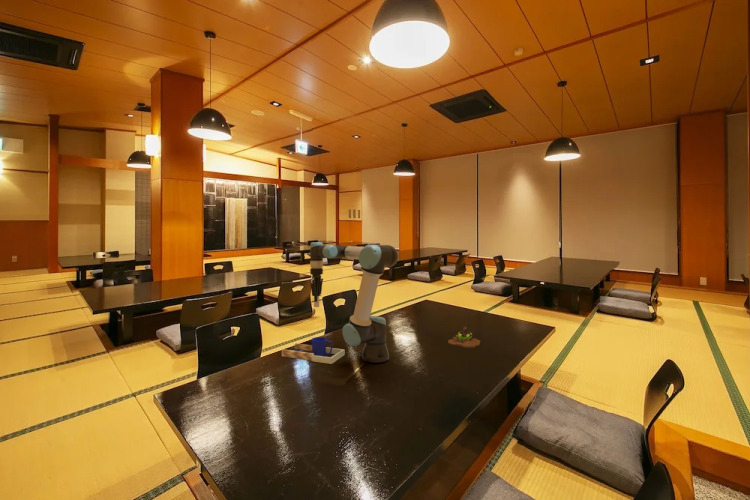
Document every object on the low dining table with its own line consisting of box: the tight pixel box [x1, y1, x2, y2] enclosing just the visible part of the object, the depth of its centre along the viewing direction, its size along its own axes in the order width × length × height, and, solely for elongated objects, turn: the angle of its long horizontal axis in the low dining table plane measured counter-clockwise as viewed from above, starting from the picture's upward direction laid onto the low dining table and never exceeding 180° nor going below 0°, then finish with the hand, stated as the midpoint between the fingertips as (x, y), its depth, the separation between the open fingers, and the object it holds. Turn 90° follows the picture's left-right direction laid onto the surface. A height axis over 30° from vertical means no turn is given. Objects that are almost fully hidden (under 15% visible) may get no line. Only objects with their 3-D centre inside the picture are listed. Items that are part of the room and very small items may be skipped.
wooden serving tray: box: [281, 343, 314, 361], centre depth 184 cm, size 20×14×4 cm
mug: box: [310, 336, 333, 357], centre depth 180 cm, size 8×12×10 cm
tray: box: [311, 346, 346, 365], centre depth 179 cm, size 12×16×3 cm
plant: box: [447, 326, 481, 349], centre depth 206 cm, size 20×20×11 cm
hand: (316, 306), depth 195 cm, fingers closed
